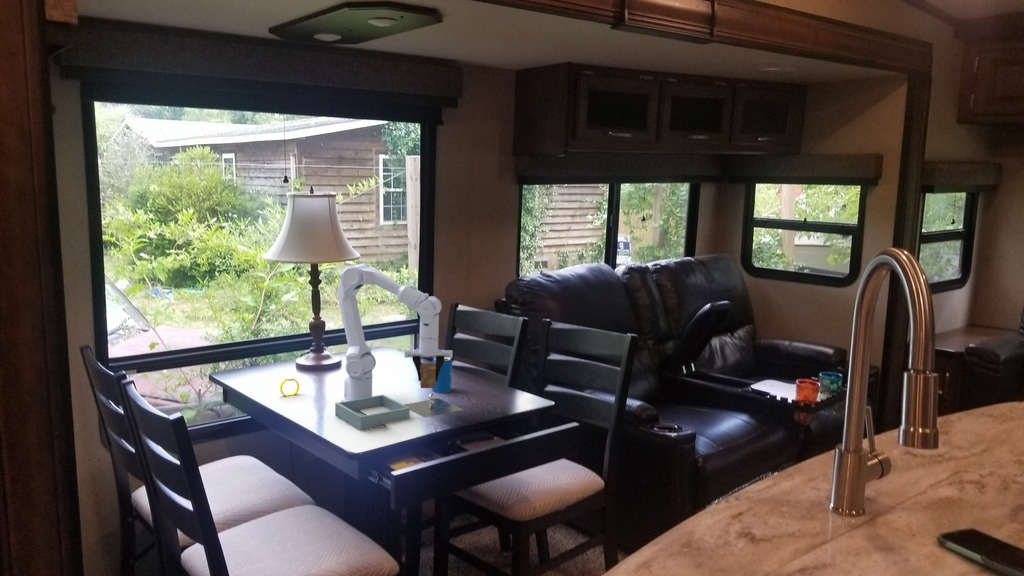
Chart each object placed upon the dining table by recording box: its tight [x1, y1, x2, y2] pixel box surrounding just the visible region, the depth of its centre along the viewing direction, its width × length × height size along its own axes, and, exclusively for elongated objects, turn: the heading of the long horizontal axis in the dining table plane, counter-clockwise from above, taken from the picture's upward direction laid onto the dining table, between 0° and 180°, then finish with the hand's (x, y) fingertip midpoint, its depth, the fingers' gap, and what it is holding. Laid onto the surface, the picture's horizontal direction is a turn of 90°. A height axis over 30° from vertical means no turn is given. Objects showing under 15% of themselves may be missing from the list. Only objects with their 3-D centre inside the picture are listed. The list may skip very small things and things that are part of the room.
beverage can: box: [431, 357, 453, 394], centre depth 247 cm, size 6×6×12 cm
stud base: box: [403, 393, 464, 418], centre depth 228 cm, size 14×14×5 cm
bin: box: [334, 394, 411, 432], centre depth 219 cm, size 16×16×4 cm
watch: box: [279, 376, 300, 397], centre depth 238 cm, size 6×3×6 cm, turn 123°
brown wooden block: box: [419, 361, 436, 389], centre depth 226 cm, size 4×4×7 cm
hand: (427, 380), depth 227 cm, fingers closed on brown wooden block, 4 cm apart
